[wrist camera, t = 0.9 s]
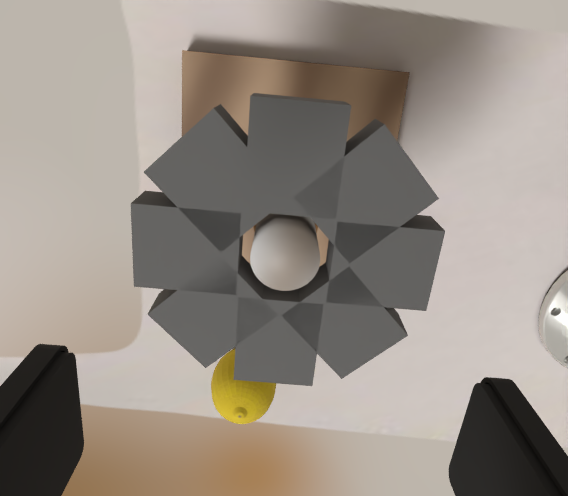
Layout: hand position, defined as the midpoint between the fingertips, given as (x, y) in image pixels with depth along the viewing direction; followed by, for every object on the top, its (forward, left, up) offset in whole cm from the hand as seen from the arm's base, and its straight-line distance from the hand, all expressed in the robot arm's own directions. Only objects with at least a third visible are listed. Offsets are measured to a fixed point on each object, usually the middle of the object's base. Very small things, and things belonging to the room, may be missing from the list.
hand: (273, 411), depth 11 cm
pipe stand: (0, 0, -27) cm, 27 cm away
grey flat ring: (0, 0, -11) cm, 11 cm away
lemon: (+2, +18, -28) cm, 33 cm away
